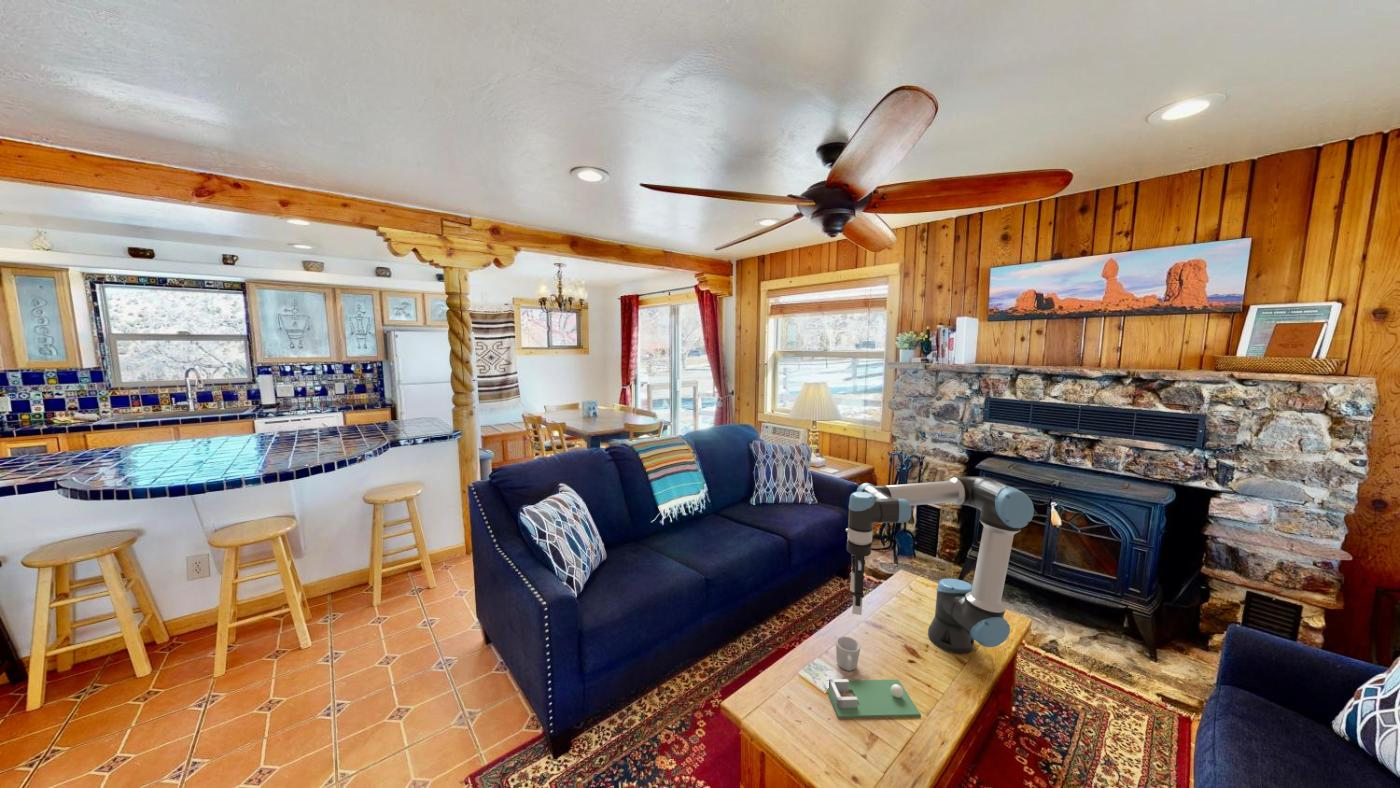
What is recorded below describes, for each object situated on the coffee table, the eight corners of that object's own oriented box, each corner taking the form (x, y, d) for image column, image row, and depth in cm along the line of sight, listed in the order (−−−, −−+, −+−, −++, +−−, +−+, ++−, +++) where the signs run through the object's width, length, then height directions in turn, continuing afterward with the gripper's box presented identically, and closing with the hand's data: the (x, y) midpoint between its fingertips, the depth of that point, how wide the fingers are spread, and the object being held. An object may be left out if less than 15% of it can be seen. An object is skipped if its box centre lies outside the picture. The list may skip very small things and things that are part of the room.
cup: (861, 681, 150) (863, 659, 149) (836, 677, 151) (837, 655, 150) (857, 659, 160) (858, 638, 159) (833, 655, 162) (835, 634, 161)
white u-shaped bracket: (846, 689, 146) (847, 679, 146) (857, 710, 138) (857, 699, 138) (828, 689, 146) (829, 679, 146) (837, 710, 138) (838, 700, 137)
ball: (899, 691, 145) (900, 681, 144) (905, 700, 141) (905, 690, 141) (888, 691, 145) (889, 681, 144) (893, 700, 141) (894, 690, 141)
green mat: (898, 681, 150) (898, 679, 150) (920, 716, 136) (920, 714, 136) (823, 682, 149) (823, 680, 149) (838, 718, 135) (838, 715, 135)
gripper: (845, 524, 161) (842, 581, 163) (848, 556, 137) (844, 622, 139) (868, 526, 159) (864, 584, 161) (875, 559, 135) (871, 626, 137)
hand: (855, 602), depth 150 cm, fingers open, 13 cm apart
